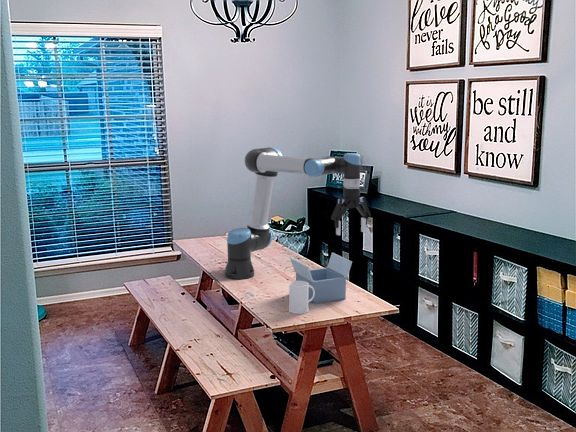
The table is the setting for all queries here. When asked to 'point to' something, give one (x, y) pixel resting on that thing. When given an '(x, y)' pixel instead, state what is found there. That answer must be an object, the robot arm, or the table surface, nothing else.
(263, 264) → the table surface
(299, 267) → the flap left
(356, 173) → the robot arm
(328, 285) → the box
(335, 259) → the flap right
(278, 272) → the table surface
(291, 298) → the mug
